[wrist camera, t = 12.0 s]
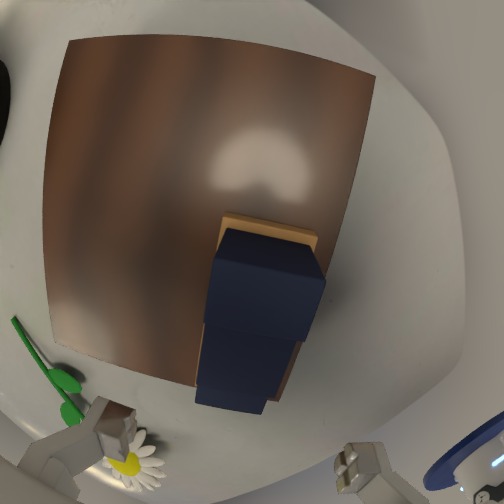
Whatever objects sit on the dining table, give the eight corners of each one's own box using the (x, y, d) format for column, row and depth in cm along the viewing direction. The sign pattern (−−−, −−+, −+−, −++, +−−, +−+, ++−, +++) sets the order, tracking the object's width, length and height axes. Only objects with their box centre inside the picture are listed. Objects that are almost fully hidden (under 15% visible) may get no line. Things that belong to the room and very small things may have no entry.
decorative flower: (9, 326, 31) (130, 474, 35) (-12, 339, 26) (121, 493, 30) (48, 290, 29) (188, 464, 33) (23, 303, 24) (181, 489, 29)
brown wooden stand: (345, 94, 19) (376, 76, 13) (276, 351, 27) (278, 401, 21) (111, 60, 19) (69, 40, 12) (87, 306, 26) (54, 342, 20)
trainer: (225, 211, 16) (207, 243, 11) (314, 231, 16) (338, 270, 11) (197, 374, 20) (182, 434, 15) (264, 387, 20) (265, 448, 15)
